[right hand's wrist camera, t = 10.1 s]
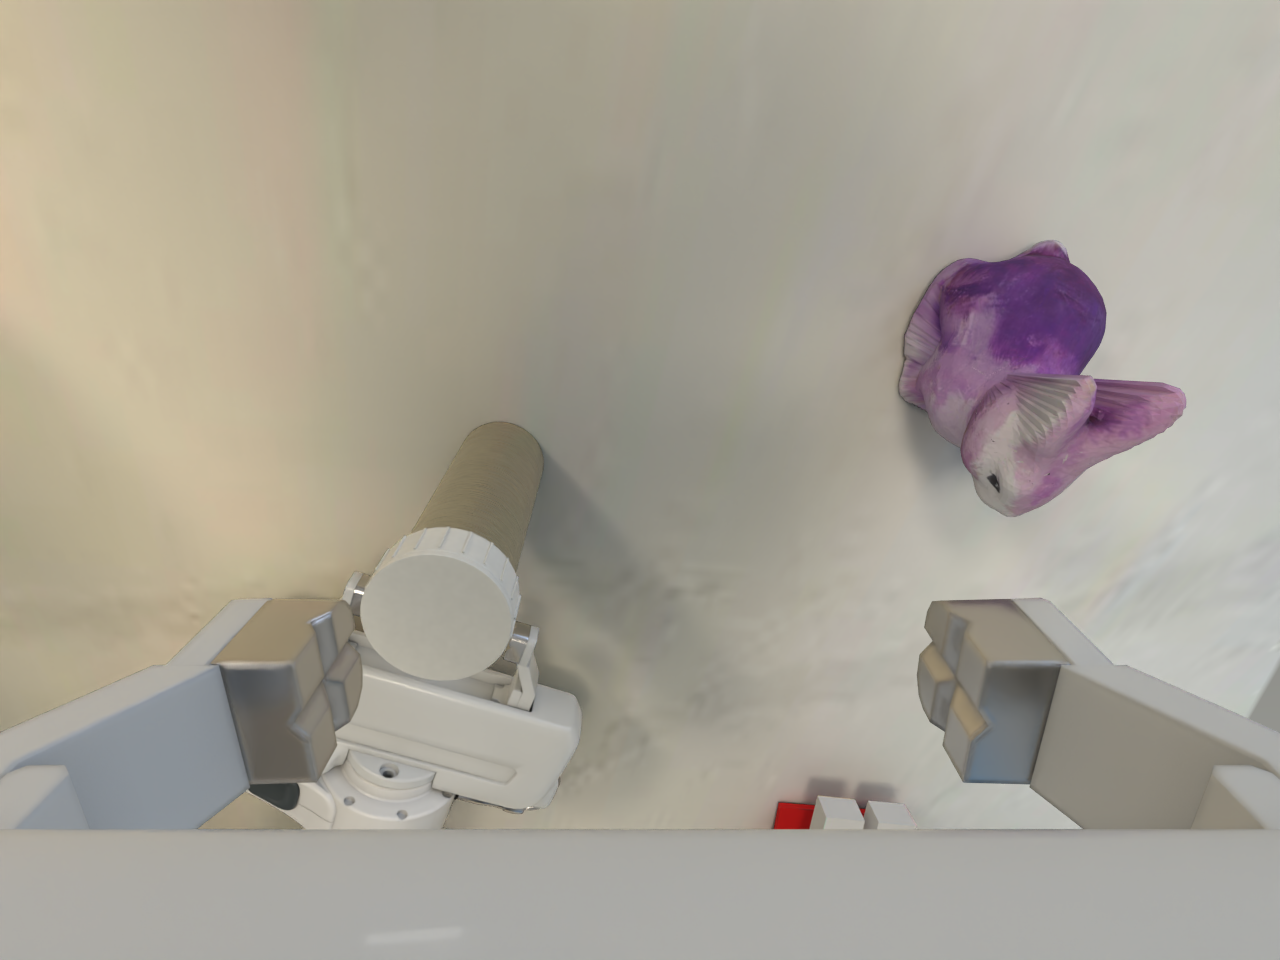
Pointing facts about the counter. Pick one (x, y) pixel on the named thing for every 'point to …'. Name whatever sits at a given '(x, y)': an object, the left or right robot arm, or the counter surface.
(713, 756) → the counter surface
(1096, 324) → the figurine
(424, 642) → the lid
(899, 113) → the counter surface
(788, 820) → the toy
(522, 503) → the jar
